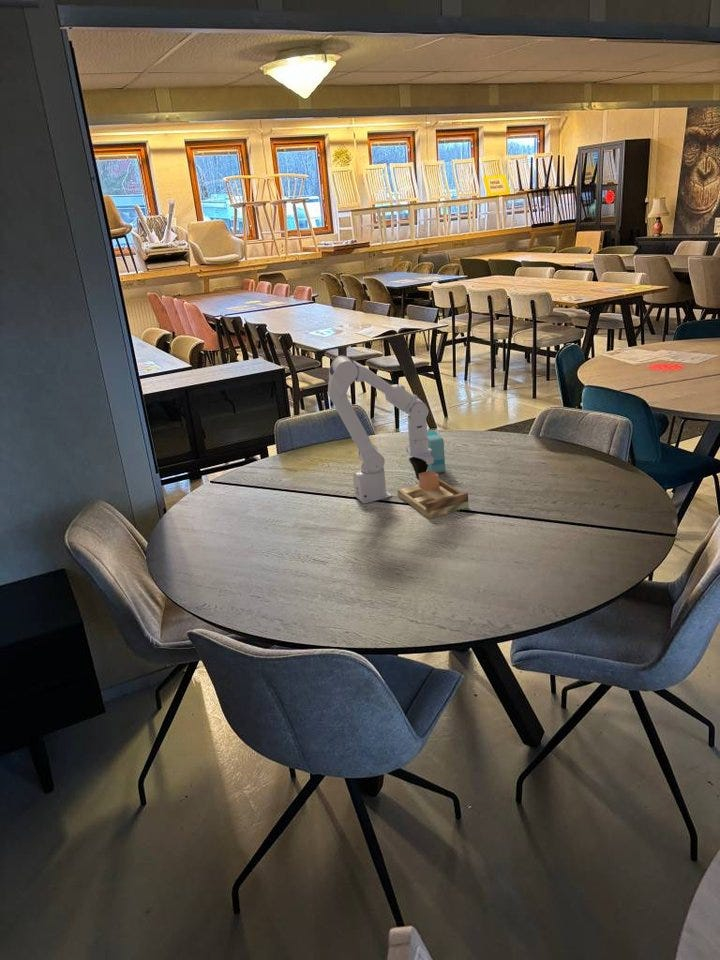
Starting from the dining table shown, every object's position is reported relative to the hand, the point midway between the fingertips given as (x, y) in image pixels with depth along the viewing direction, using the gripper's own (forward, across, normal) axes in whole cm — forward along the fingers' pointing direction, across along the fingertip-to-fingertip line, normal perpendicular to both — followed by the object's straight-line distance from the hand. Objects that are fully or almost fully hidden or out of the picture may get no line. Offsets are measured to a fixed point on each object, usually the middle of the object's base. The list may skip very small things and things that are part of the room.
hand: (421, 479), depth 209 cm
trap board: (+3, -11, +2) cm, 12 cm away
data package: (+3, +13, -11) cm, 18 cm away
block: (+1, -6, 0) cm, 6 cm away
